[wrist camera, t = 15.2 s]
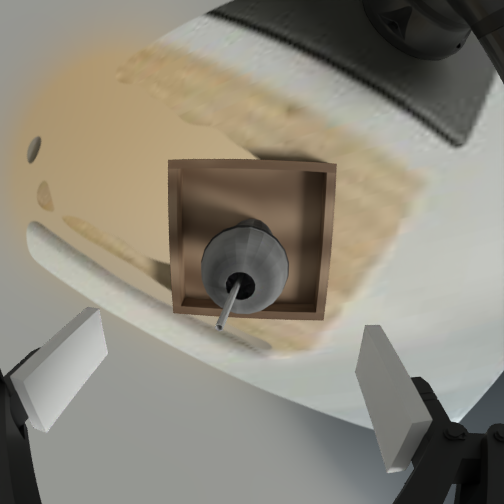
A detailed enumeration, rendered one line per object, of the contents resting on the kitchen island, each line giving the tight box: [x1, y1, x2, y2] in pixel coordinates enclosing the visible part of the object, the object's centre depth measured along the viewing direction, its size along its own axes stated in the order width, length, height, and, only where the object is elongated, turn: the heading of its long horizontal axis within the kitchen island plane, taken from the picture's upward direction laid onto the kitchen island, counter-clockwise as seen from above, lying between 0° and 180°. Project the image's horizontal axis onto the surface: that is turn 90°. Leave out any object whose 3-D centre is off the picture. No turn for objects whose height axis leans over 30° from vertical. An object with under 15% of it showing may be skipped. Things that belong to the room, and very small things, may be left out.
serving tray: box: [168, 159, 337, 320], centre depth 37 cm, size 18×18×4 cm
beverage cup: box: [201, 219, 289, 331], centre depth 28 cm, size 7×7×20 cm
